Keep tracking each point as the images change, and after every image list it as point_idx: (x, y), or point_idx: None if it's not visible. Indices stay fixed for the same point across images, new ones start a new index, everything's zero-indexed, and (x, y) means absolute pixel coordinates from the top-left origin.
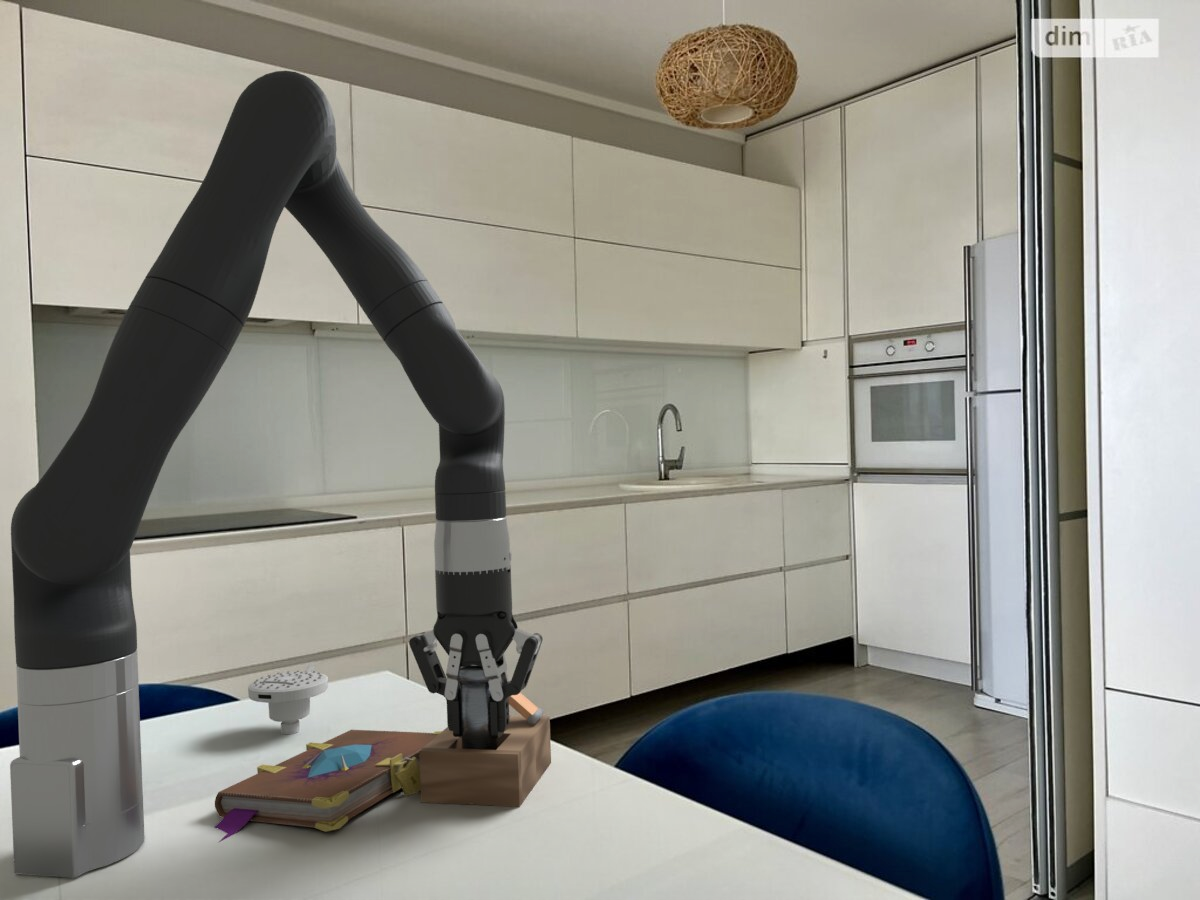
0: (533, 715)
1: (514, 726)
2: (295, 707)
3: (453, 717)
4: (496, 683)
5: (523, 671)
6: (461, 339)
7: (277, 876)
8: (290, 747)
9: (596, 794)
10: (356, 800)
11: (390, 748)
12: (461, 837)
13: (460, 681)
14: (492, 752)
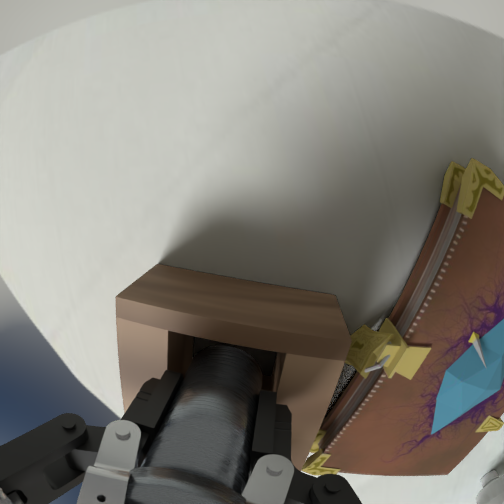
0: None
1: None
2: (496, 491)
3: (271, 420)
4: (110, 457)
5: (19, 444)
6: None
7: (465, 51)
8: (496, 447)
9: (69, 298)
10: (442, 248)
11: (405, 423)
12: (230, 142)
13: (225, 488)
14: (171, 315)
